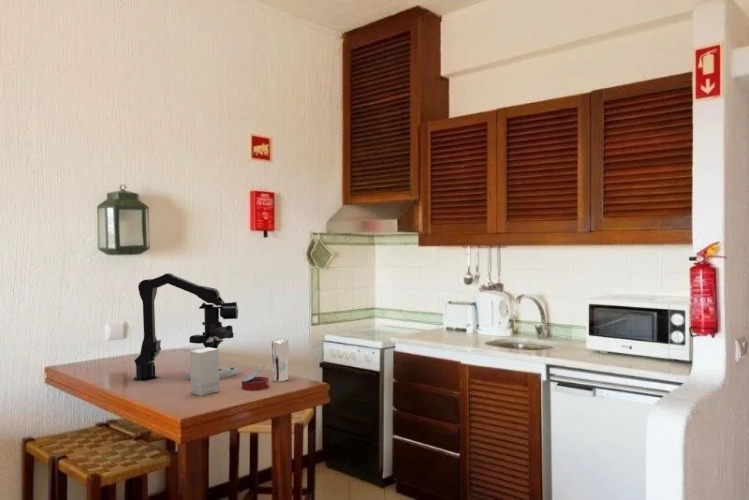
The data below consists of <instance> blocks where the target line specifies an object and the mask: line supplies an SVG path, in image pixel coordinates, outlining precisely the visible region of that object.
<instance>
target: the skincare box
mask: <svg viewBox="0 0 749 500" xmlns="http://www.w3.org/2000/svg"><path fill="white" fill-rule="evenodd" d="M219 350H220V349H219V348H217V349H216V348H210V347H207V348H205V347H204V348H198V349H197V348H196V349H193V350H189V354H190V355H189V360H190V366H189V367H190V369H189V372H191V379H190V394H191V395H196V396H199V397H202V396H206V395H210V394H214V393H217V392H218V393H219V392H220V379H219V366H220V364H219V363H220V361H219V359H220V358H219V354H220V353H219Z"/></svg>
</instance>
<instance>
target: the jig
mask: <svg viewBox="0 0 749 500" xmlns="http://www.w3.org/2000/svg"><path fill="white" fill-rule="evenodd" d="M238 374H239V370H238V367H231V366H230V367H229V366H221V365H219V380H221V379H224V378H228V377H232V376H235V375H238ZM186 379H188V380H191V371H187V372H186Z"/></svg>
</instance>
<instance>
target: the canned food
mask: <svg viewBox="0 0 749 500" xmlns="http://www.w3.org/2000/svg"><path fill="white" fill-rule="evenodd" d="M265 367H266V364H264V365H263V366H262V367H260V368H259V369H256V370H255V371H253V372H251V373H250V374H248V375H246V377H244V378H243V379H242V380H241V389H242V390H245V391H262V389H263V390H266V389H269V388H270V381H269V378H268V377H266V376H258V375H260V373H261V372H262V370H263V369H264V368H265Z"/></svg>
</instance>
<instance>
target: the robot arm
mask: <svg viewBox="0 0 749 500" xmlns="http://www.w3.org/2000/svg"><path fill="white" fill-rule="evenodd" d="M167 284H168V285H171V286H172V287H175V288H178V289H180V290H183V291H185V292H188V293H190V294H193V295H195V296H197V297H198V298H199V299H201V300H202V301H203V302H202V304H201V305H200V306H199V307H198V309H200V310H201V309H203V312H204V316H203V317H204V321H203V322H202V325H203V326H204V331H203V332H202V334H191V336H190V337H189V344H197V345H198V344H199V345H200V344H203V346H204V348H207V347H210V348H216V349H218V347H219V346H220V344H221V343H222V342H224V339H233V338H234V332H233V331H234V329H233V326H232V325H226V326H223V323H222V321H220V317H221V318H222V320H238V318H239V309H238V302H237V301H233V302H225V301H224V300H223V299H222V297H221V296H220V295H221V294H220V291H219V289H217V288H214V287H210V286H203V285H198V284H197V283H194V282H191V281H189V280H186V279H184V278H182V277H180V276H177V275H174V274H173V273H171V272H170V273H169V272H168V273H164V274H163V275H160V276H158V277H154V278H147V279H142V280H141V281H139V284H138V285H137V288H138V292H139V293H138V294H139V297H140V299H141V301H142V302H141V303H142V314H143V315H142V316H143V317H142V318H143V321H142V322H143V338H142V339H143V340H142V343H141V349H140V354H139V355H138V356H137V357H136V358H135V359H134V364H135V377H133V380H138V381H147V380H152V379H157V378H158V376H157V375H156V365H155V359H156V358H157V357H158V356H159V355H160V353H161V351H162V348H161V341H162V339H159V340H158V339H157V337H156V317H155V316H156V315H155V300H156V298H157V297H156V296H157V292H158V288H161V287H162V286H165V285H167ZM206 303H207V304H206Z"/></svg>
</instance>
